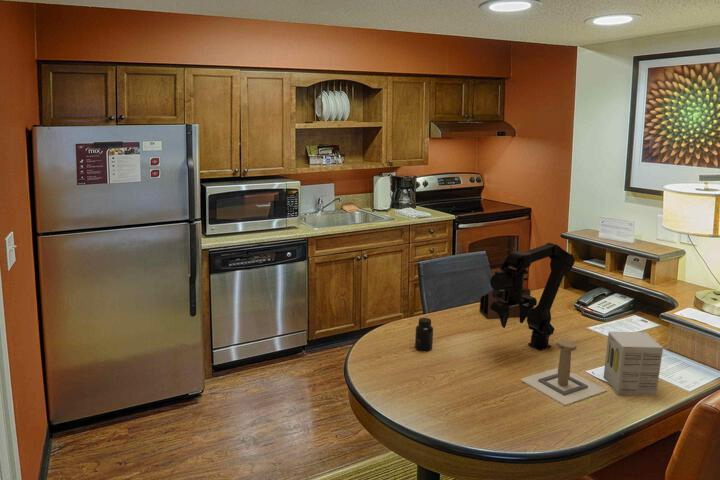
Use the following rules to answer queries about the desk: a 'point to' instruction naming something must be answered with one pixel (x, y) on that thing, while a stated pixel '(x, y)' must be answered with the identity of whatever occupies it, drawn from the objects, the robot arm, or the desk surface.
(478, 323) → the desk surface
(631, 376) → the supplement box
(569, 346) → the handle
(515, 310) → the letter holder
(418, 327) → the supplement bottle
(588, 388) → the socket plate
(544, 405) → the desk surface
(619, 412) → the desk surface
